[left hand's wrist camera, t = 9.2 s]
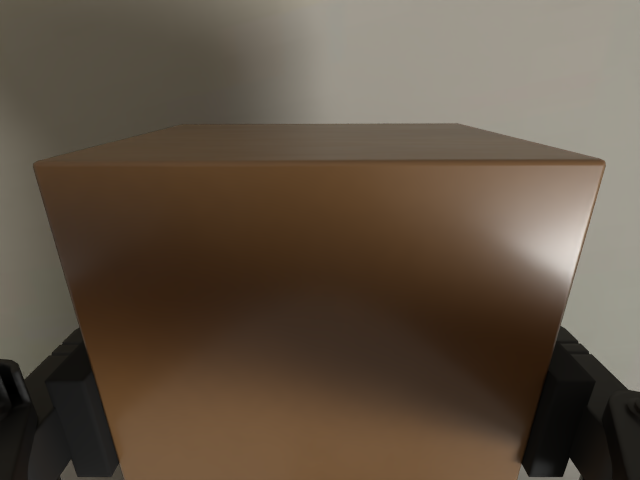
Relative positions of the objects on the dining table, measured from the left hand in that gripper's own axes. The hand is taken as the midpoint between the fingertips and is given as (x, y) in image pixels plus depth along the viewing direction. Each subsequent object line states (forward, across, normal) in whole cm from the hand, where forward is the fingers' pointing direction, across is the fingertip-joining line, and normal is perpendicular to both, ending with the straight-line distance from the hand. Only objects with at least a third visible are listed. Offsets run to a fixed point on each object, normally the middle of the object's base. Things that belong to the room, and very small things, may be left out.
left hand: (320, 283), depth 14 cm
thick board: (+1, 0, -20) cm, 20 cm away
